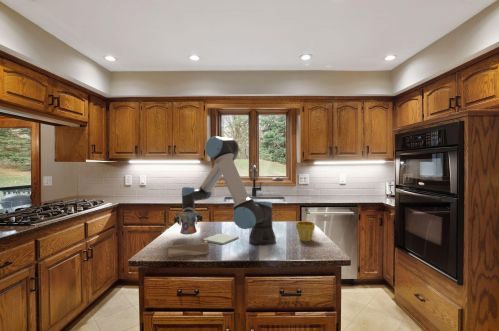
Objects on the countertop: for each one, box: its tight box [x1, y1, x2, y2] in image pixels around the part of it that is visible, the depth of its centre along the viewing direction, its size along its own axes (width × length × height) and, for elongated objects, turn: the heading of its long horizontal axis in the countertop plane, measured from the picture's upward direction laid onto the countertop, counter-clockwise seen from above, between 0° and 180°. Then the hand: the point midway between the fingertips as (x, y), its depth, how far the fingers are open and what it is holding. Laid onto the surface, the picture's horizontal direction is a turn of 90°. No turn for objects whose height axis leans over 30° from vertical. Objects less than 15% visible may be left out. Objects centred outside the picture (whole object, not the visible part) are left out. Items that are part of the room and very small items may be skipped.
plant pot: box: [295, 220, 315, 242], centre depth 159 cm, size 10×10×10 cm
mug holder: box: [167, 241, 210, 258], centre depth 144 cm, size 18×19×5 cm
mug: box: [178, 211, 198, 235], centre depth 144 cm, size 12×9×11 cm
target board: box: [202, 233, 240, 246], centre depth 162 cm, size 15×15×1 cm
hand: (188, 222), depth 140 cm, fingers closed on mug, 7 cm apart
